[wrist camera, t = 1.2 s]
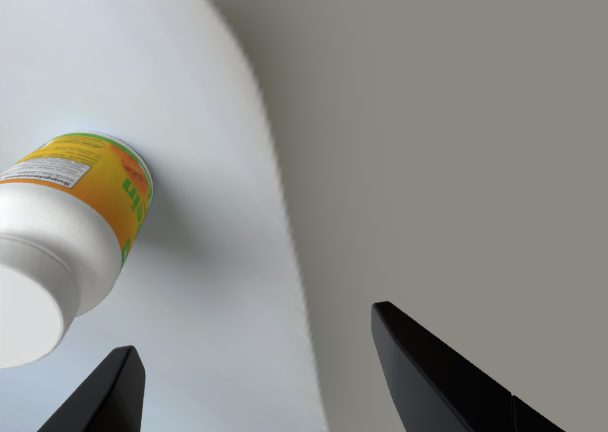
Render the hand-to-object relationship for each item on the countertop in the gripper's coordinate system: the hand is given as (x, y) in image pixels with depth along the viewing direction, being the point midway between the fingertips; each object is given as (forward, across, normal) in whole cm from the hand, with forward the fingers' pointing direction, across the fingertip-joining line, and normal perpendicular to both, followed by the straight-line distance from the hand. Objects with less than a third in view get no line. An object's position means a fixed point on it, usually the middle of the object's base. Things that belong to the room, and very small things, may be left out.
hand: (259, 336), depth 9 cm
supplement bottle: (+12, +8, 0) cm, 14 cm away
